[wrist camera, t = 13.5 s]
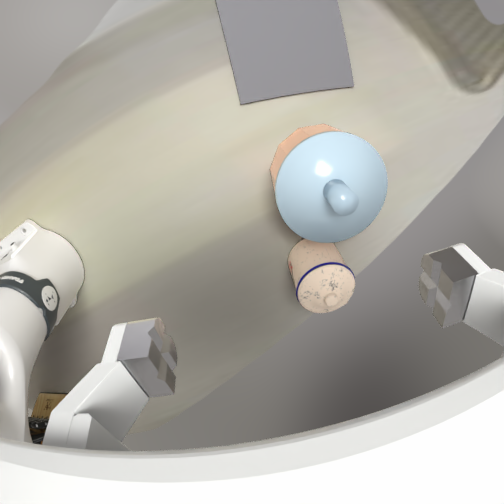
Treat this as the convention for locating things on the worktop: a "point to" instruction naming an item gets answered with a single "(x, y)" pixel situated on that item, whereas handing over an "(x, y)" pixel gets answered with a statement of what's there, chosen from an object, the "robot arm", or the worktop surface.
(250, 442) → the robot arm
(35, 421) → the knife block
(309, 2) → the mat
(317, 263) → the teacup with lid
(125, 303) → the worktop surface
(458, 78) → the worktop surface
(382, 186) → the lid
